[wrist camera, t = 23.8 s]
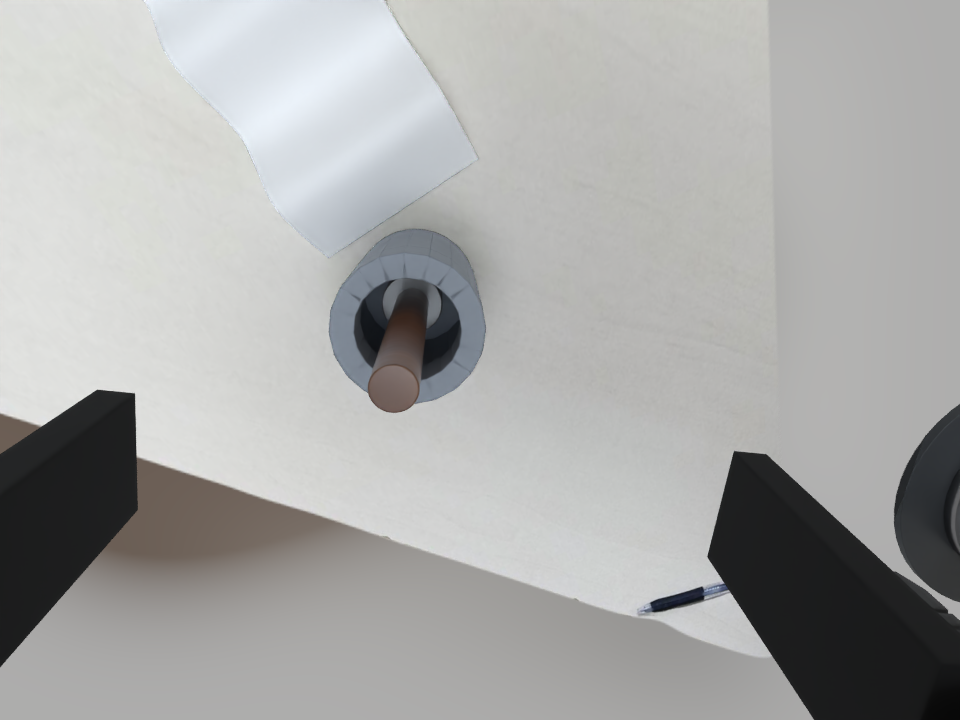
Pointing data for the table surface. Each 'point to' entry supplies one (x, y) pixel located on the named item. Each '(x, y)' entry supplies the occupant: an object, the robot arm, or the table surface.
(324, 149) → the file organizer
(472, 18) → the table surface
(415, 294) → the brown and grey rod
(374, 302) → the grey cylindrical holder
